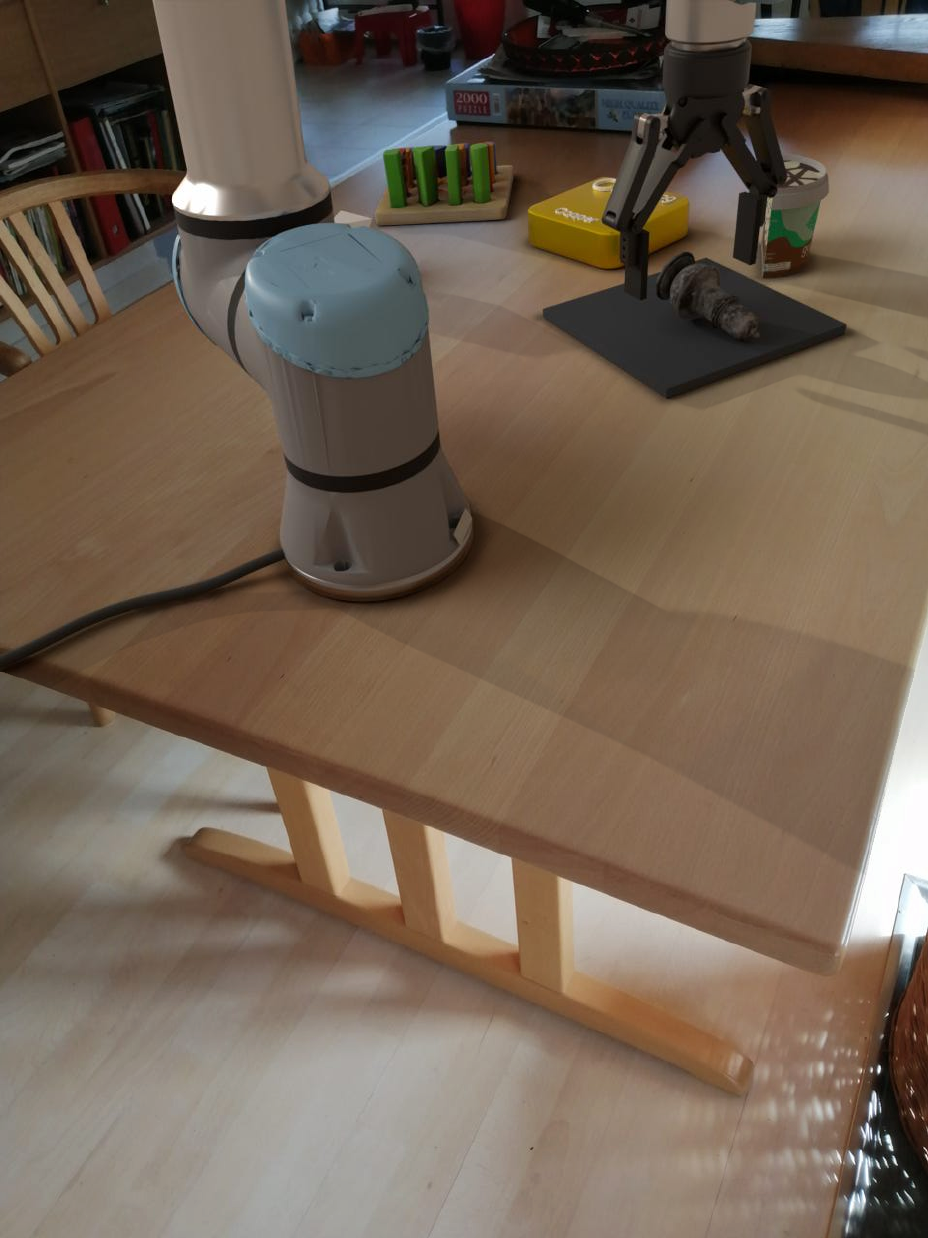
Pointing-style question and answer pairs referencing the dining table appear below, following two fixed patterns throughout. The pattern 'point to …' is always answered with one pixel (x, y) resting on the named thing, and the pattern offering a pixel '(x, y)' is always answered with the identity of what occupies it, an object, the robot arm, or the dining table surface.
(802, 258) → the food container
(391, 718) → the dining table surface
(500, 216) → the peg board
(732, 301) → the salt shaker
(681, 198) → the element tile
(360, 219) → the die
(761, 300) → the mat
